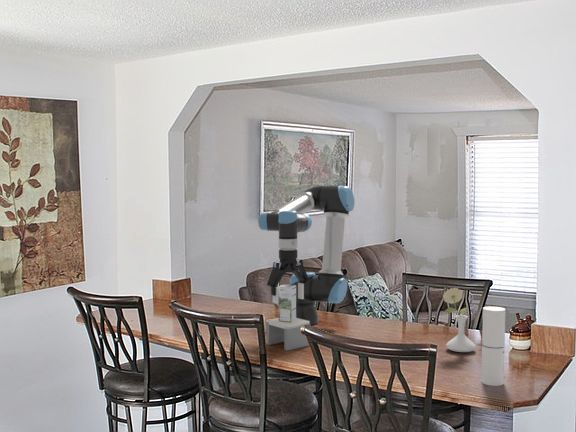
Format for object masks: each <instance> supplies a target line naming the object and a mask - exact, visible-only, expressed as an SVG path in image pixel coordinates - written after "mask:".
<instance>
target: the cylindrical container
mask: <svg viewBox="0 0 576 432" xmlns="http://www.w3.org/2000/svg"><path fill="white" fill-rule="evenodd" d="M481 331H482V335H481V337H482V338H481V339H482V340H481V345H482V346H481V377H480V379H481V380H480V381H481V383H482V384H483V385H487V386H491V387H492V386H493V387H496V386H497V387H498V386H503V385H504V384H505V383H504V380H505V346H506V343H505V342H506V308H505V307H501V306H484V307H482V330H481Z"/></svg>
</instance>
